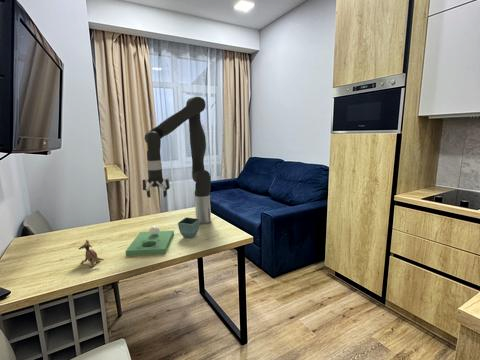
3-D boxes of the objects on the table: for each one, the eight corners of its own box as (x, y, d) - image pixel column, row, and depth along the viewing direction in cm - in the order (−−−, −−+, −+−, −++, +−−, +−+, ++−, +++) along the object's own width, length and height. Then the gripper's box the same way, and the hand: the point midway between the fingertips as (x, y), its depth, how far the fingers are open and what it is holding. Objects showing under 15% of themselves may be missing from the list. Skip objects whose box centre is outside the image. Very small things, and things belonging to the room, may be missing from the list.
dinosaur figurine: (76, 261, 112) (73, 242, 110) (90, 256, 117) (87, 237, 115) (92, 270, 105) (89, 250, 103) (106, 264, 110) (104, 244, 108)
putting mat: (174, 234, 140) (173, 230, 139) (165, 253, 118) (165, 248, 118) (140, 236, 138) (140, 231, 138) (126, 255, 117) (125, 250, 116)
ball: (160, 232, 136) (159, 224, 135) (158, 236, 131) (157, 227, 130) (151, 233, 136) (150, 224, 135) (148, 237, 131) (147, 228, 130)
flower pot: (193, 240, 132) (192, 224, 130) (178, 238, 135) (177, 222, 133) (200, 234, 140) (200, 218, 138) (186, 232, 143) (186, 217, 141)
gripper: (169, 167, 142) (171, 195, 146) (143, 167, 142) (146, 195, 145) (166, 169, 135) (168, 198, 138) (139, 169, 135) (142, 199, 138)
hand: (157, 197), depth 142 cm, fingers open, 8 cm apart
